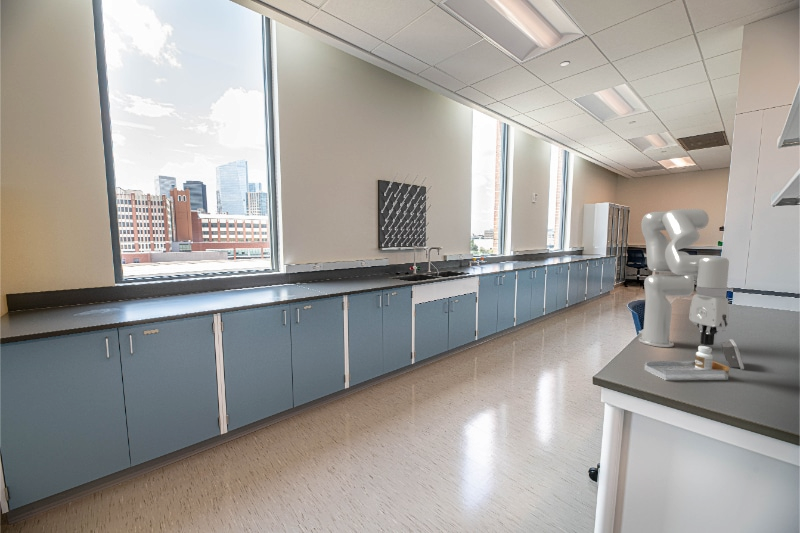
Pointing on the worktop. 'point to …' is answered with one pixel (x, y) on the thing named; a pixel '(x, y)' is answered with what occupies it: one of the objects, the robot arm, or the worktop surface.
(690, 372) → the rail
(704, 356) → the pill bottle
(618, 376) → the worktop surface
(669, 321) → the robot arm
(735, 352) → the electrical switch
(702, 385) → the worktop surface
